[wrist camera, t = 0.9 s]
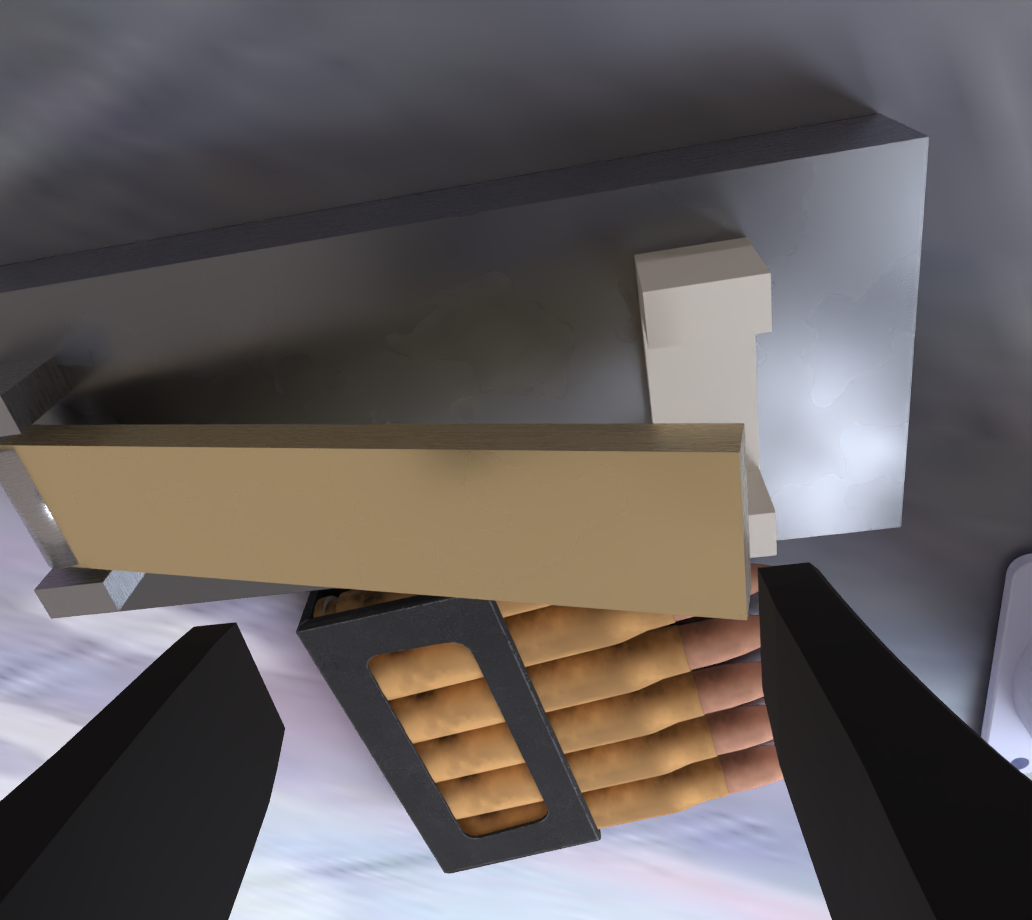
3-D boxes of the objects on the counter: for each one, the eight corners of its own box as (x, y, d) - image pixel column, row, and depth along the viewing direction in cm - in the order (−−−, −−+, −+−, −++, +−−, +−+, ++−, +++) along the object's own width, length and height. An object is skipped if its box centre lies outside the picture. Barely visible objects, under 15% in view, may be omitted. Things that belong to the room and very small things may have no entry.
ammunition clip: (451, 824, 27) (815, 748, 25) (447, 876, 26) (835, 800, 24) (311, 582, 22) (751, 463, 20) (294, 629, 21) (770, 504, 19)
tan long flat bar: (746, 416, 12) (738, 460, 11) (752, 578, 13) (746, 629, 12) (14, 420, 17) (-35, 450, 16) (78, 536, 18) (37, 570, 18)
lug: (746, 237, 15) (770, 272, 13) (756, 497, 17) (776, 555, 16) (634, 255, 15) (642, 292, 13) (661, 508, 18) (671, 566, 16)
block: (880, 113, 16) (974, 158, 12) (864, 466, 20) (933, 580, 16) (-10, 267, 18) (-154, 343, 15) (136, 552, 22) (51, 668, 19)
